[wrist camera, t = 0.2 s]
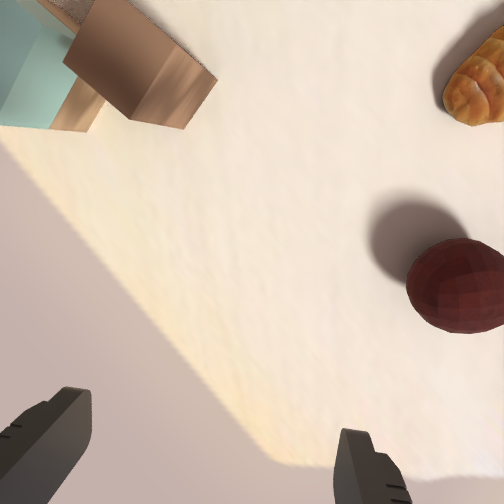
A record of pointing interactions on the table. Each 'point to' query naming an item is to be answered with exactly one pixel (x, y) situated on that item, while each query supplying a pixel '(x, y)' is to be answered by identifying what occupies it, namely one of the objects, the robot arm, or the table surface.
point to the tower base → (75, 89)
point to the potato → (459, 286)
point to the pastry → (479, 85)
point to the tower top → (32, 64)
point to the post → (137, 66)
